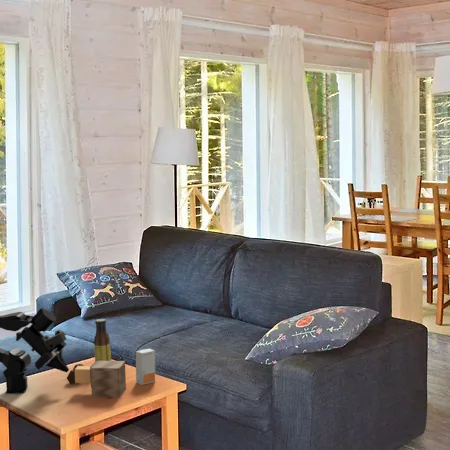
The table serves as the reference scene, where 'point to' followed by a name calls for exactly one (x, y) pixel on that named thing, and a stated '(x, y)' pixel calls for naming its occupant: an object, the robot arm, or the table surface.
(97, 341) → the sauce bottle
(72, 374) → the bolt
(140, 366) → the skincare box
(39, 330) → the robot arm
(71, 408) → the table surface
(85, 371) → the peg
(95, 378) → the housing
